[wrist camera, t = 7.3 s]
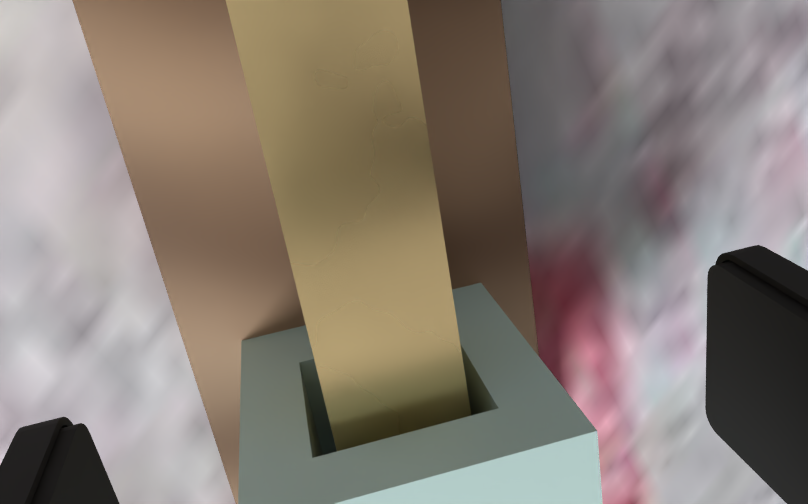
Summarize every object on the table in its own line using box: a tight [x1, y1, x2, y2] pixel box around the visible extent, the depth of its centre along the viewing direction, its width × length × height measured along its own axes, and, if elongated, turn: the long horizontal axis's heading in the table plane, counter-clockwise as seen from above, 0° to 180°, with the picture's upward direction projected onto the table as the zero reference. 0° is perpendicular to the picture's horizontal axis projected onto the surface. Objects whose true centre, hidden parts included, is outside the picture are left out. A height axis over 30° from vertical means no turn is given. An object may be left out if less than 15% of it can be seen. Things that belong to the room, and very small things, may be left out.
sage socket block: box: [238, 283, 602, 504], centre depth 18 cm, size 5×7×8 cm
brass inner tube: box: [226, 0, 471, 451], centre depth 14 cm, size 20×3×3 cm, turn 9°
